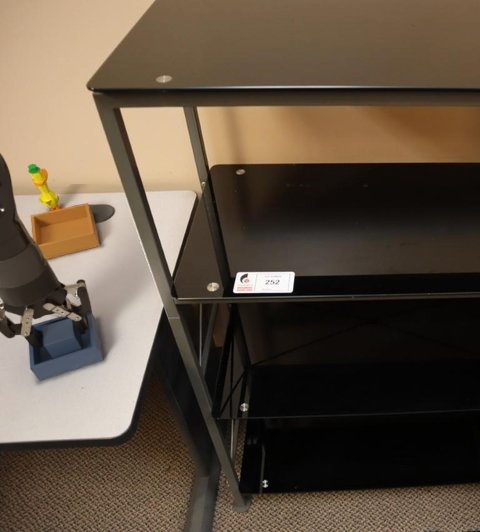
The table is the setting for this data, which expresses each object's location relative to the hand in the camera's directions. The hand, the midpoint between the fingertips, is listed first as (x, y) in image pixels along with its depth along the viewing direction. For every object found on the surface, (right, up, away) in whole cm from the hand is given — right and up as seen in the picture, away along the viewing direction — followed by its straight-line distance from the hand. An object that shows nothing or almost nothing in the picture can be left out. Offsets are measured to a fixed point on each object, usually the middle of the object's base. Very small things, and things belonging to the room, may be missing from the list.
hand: (61, 337), depth 86 cm
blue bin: (0, -2, +2) cm, 3 cm away
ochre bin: (-13, +18, +22) cm, 31 cm away
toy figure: (-20, +25, +28) cm, 42 cm away
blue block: (0, -2, +2) cm, 3 cm away
